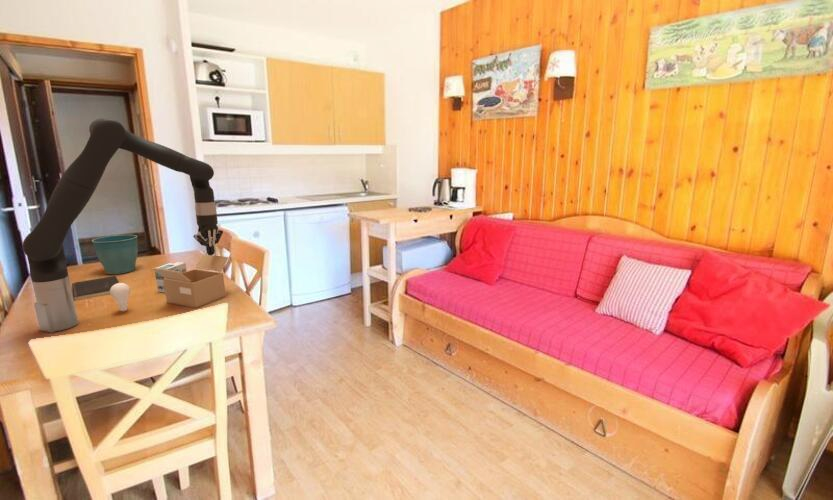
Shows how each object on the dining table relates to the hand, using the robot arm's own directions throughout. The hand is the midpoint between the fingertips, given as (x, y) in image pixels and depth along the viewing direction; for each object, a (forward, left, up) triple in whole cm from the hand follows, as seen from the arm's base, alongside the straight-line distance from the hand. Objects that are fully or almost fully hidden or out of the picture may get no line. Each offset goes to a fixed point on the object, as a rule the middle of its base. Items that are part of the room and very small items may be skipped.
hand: (211, 254), depth 168 cm
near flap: (-18, 0, -3) cm, 19 cm away
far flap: (0, 0, -3) cm, 3 cm away
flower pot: (+6, +70, -17) cm, 72 cm away
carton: (-9, 0, -16) cm, 19 cm away
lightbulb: (-28, +15, -17) cm, 36 cm away
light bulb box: (-3, +21, -17) cm, 27 cm away
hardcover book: (-16, +52, -17) cm, 57 cm away
